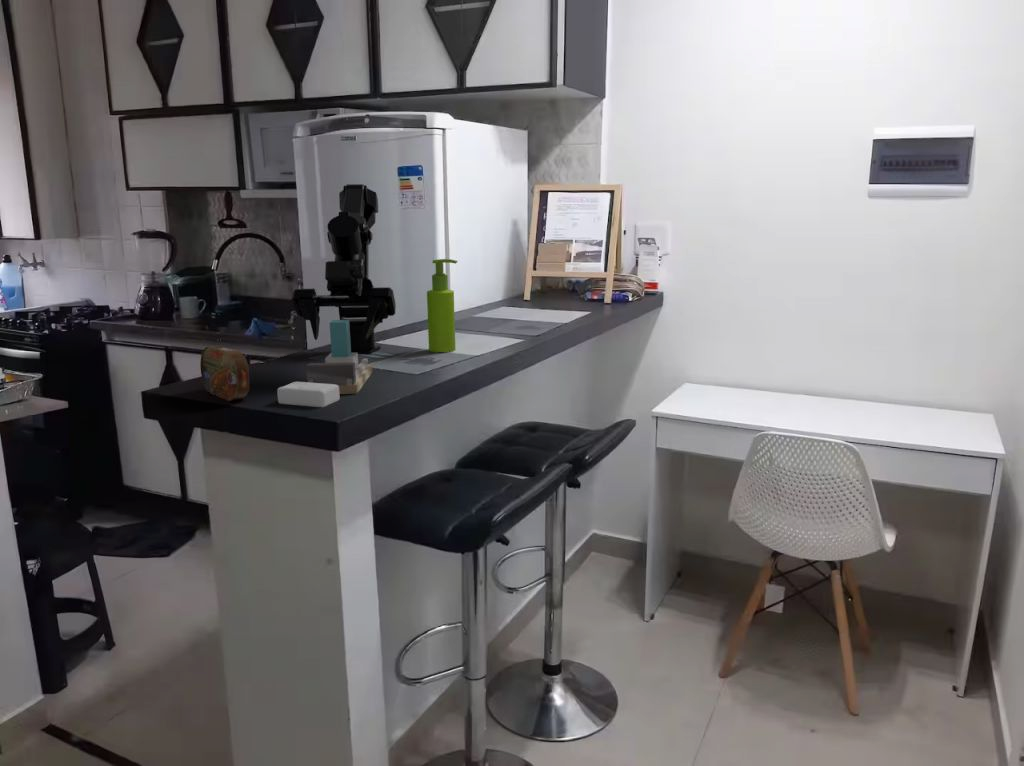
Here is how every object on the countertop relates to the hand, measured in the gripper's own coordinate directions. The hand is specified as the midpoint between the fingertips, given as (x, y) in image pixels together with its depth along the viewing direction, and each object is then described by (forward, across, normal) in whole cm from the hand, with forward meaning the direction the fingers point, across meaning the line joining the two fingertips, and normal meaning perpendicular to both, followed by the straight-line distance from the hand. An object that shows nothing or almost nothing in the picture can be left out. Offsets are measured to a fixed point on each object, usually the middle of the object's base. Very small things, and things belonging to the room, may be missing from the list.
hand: (340, 338), depth 140 cm
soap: (+17, -3, -5) cm, 18 cm away
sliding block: (+4, 0, +5) cm, 6 cm away
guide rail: (+7, 0, +4) cm, 8 cm away
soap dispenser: (-14, +17, +25) cm, 34 cm away
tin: (+13, -18, -2) cm, 22 cm away
